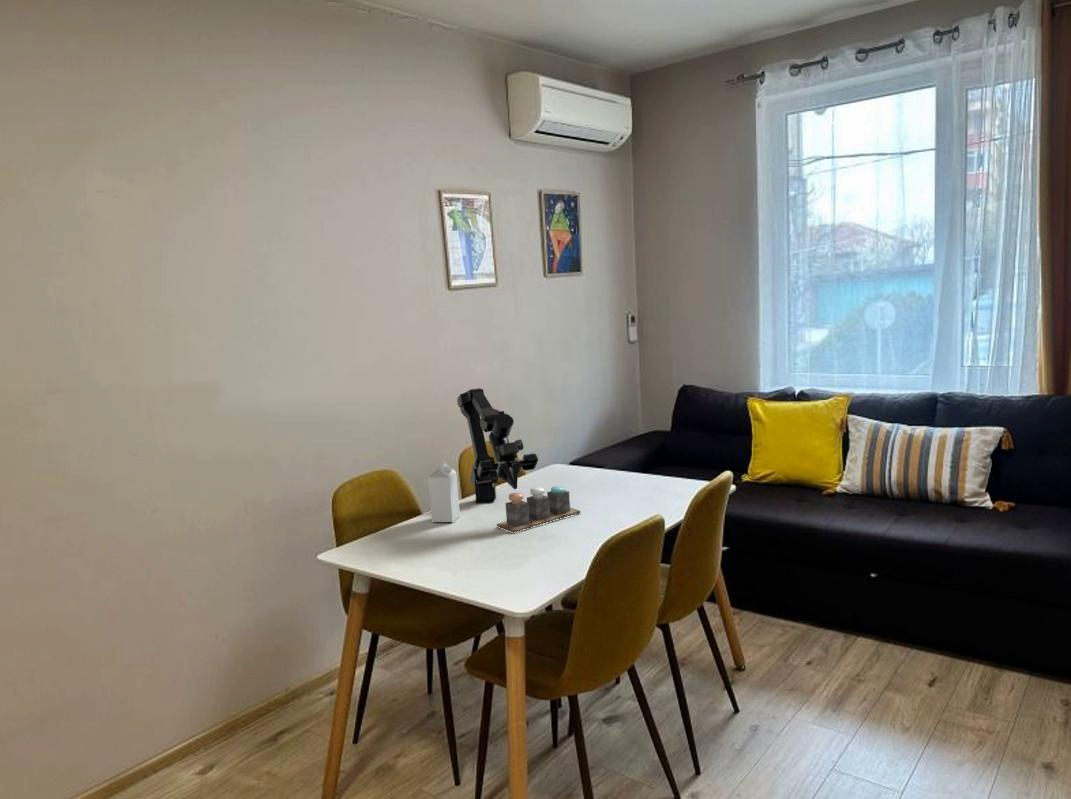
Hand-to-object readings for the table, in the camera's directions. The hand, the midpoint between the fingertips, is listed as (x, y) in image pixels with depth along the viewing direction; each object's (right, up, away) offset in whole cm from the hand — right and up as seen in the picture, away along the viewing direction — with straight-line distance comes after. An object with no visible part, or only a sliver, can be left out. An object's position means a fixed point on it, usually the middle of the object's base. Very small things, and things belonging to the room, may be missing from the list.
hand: (515, 488), depth 220 cm
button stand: (+7, -11, +6) cm, 15 cm away
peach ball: (0, -6, +1) cm, 6 cm away
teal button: (+13, -5, +10) cm, 18 cm away
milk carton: (-23, -12, +13) cm, 29 cm away
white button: (+7, -4, +6) cm, 10 cm away
